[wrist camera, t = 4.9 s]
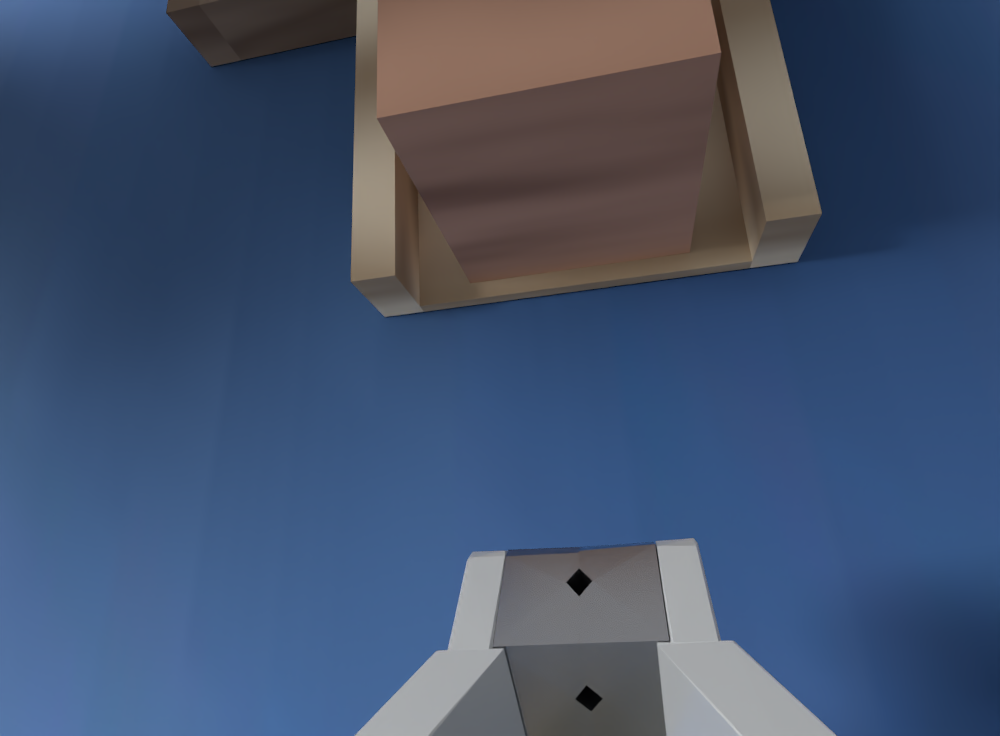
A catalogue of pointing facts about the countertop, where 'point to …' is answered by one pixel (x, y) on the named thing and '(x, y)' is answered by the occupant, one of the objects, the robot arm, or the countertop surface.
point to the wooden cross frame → (443, 284)
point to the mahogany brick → (551, 125)
